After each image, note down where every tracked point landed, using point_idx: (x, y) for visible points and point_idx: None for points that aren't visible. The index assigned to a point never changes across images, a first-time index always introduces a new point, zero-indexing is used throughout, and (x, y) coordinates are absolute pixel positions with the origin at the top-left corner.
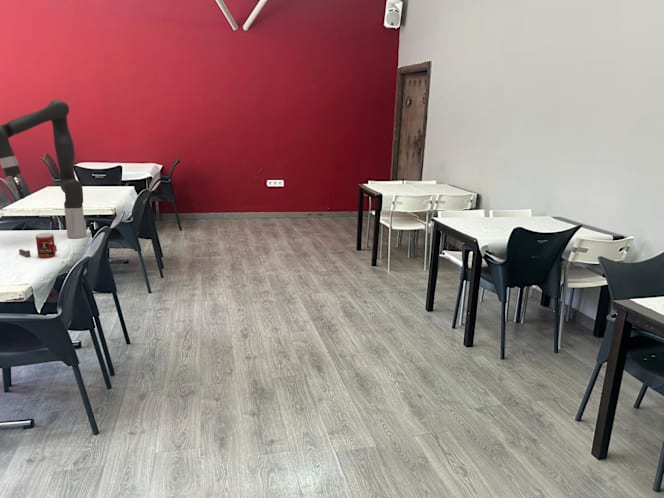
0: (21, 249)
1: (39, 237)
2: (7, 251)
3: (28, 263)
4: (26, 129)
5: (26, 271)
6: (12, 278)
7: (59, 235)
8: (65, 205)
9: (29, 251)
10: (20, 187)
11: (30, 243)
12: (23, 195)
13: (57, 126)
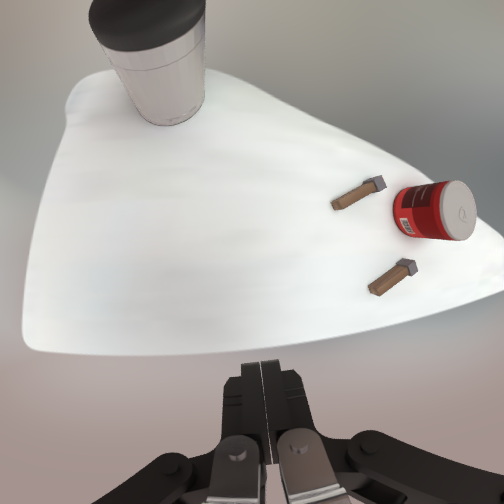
0: (380, 288)
1: (472, 228)
2: (319, 334)
3: (448, 260)
4: None
5: (482, 260)
6: (497, 281)
7: (122, 157)
8: (167, 31)
9: (414, 261)
10: (369, 477)
11: (225, 267)
12: (282, 383)
13: None
